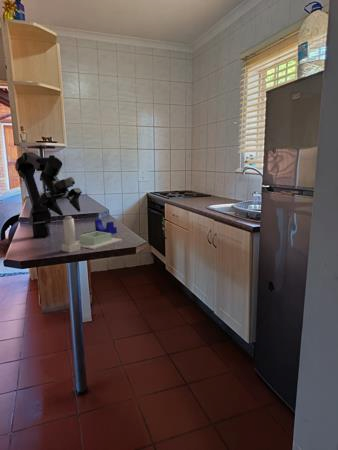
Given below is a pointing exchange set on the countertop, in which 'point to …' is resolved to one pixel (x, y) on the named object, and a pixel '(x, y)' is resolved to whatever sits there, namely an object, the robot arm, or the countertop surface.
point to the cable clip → (109, 227)
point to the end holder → (96, 240)
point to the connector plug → (69, 235)
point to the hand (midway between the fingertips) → (71, 213)
